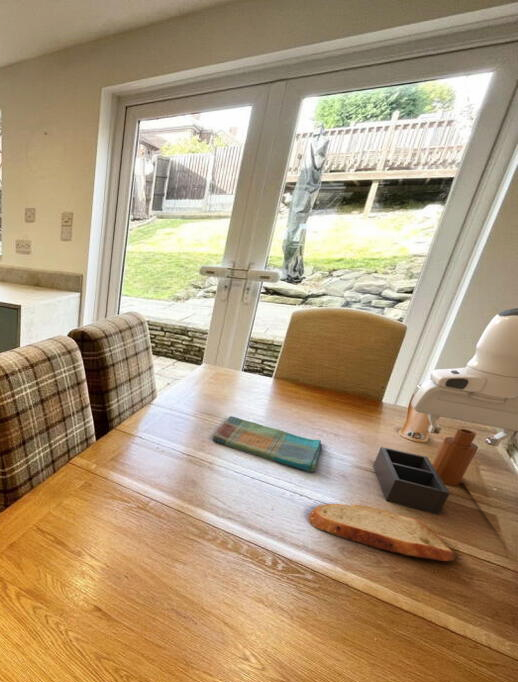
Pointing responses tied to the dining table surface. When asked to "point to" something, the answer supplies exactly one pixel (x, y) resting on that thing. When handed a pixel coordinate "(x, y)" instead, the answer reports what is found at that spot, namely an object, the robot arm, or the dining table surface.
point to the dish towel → (269, 443)
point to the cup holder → (410, 480)
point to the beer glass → (415, 424)
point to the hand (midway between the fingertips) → (461, 438)
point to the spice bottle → (455, 456)
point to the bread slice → (381, 530)
